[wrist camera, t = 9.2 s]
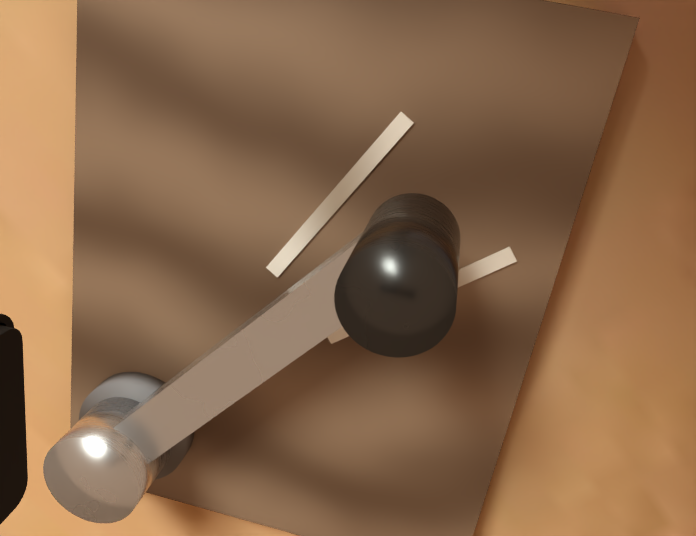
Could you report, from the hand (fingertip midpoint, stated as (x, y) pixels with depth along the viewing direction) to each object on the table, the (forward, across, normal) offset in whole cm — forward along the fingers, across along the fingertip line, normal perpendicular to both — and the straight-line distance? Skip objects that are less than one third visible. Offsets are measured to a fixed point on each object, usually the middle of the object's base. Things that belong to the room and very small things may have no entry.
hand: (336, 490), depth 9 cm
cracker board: (+17, +4, +5) cm, 19 cm away
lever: (+15, +5, +7) cm, 17 cm away
